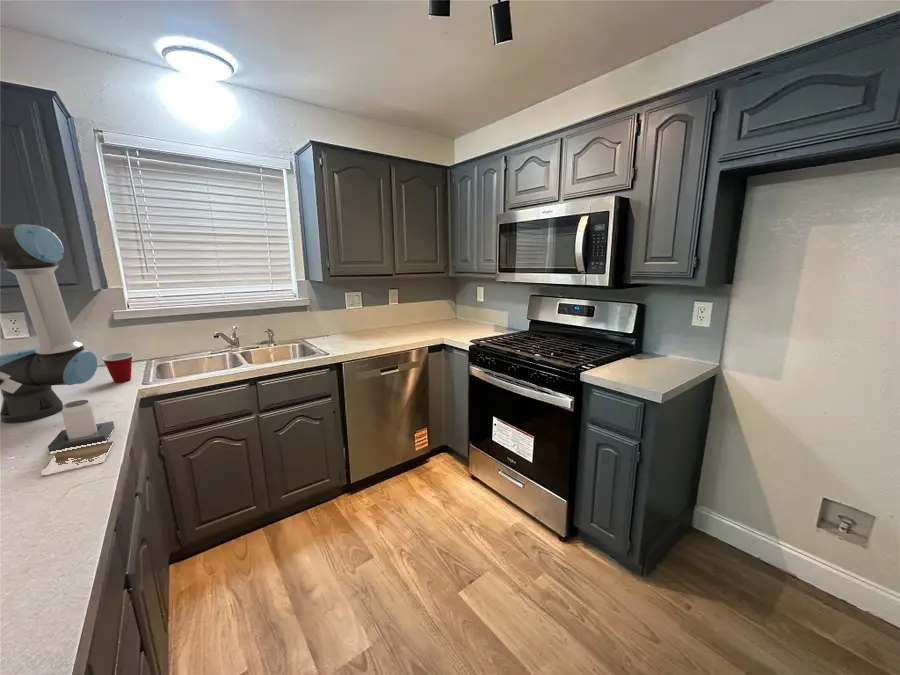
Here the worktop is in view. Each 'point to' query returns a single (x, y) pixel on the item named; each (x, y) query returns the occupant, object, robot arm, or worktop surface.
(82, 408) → the can
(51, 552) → the worktop surface
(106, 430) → the steel collar
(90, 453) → the walnut pad
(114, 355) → the plastic cup
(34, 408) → the robot arm
